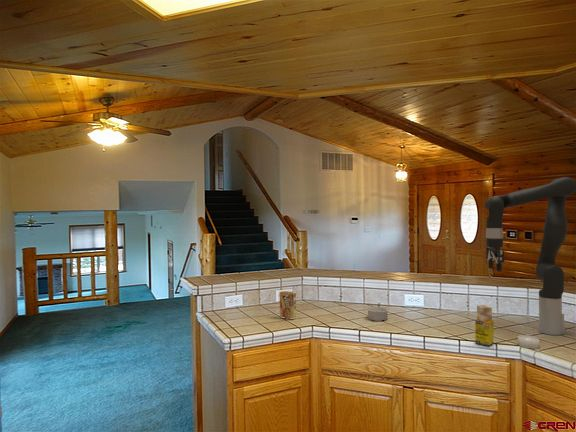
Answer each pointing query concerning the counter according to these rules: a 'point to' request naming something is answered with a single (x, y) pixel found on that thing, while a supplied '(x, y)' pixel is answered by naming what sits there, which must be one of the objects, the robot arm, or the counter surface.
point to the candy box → (287, 304)
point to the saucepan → (377, 313)
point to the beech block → (484, 313)
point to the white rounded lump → (528, 341)
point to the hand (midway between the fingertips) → (494, 269)
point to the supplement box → (484, 332)
